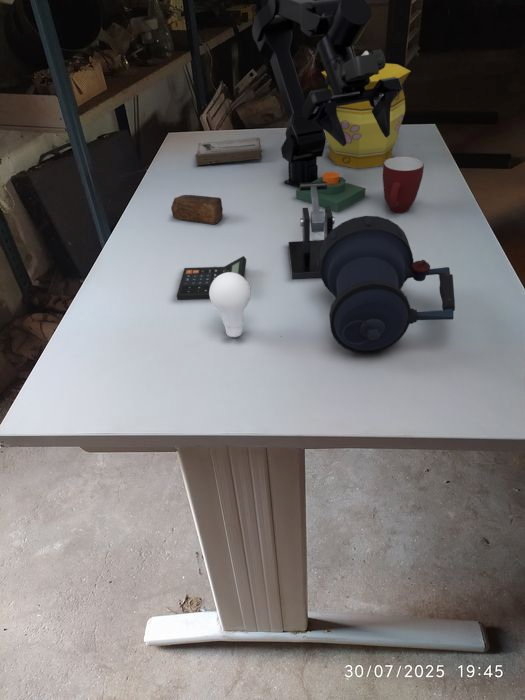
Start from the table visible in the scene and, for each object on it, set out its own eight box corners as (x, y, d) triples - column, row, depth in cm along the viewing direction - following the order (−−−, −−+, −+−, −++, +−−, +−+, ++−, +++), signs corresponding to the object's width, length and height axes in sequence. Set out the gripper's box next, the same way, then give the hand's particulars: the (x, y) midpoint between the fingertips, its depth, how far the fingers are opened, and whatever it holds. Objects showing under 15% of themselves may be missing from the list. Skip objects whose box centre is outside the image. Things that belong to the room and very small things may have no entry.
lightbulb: (214, 326, 87) (206, 266, 80) (252, 322, 87) (247, 262, 80) (215, 349, 82) (207, 288, 75) (255, 346, 82) (250, 284, 75)
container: (356, 179, 131) (362, 64, 115) (304, 156, 145) (303, 51, 129) (418, 158, 139) (432, 49, 123) (363, 138, 153) (369, 38, 138)
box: (262, 160, 142) (261, 148, 140) (196, 166, 142) (195, 154, 141) (261, 148, 150) (260, 136, 149) (199, 153, 151) (198, 142, 149)
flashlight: (316, 288, 93) (433, 283, 92) (323, 375, 78) (464, 371, 77) (316, 212, 83) (448, 205, 82) (325, 295, 68) (487, 288, 67)
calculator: (185, 271, 101) (182, 257, 99) (247, 270, 100) (246, 255, 98) (177, 299, 93) (174, 285, 91) (244, 298, 93) (243, 283, 91)
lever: (299, 189, 102) (299, 179, 100) (326, 187, 102) (326, 177, 100) (303, 232, 96) (304, 223, 94) (331, 231, 96) (332, 221, 94)
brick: (223, 217, 118) (221, 196, 115) (216, 225, 115) (213, 204, 112) (181, 212, 121) (177, 192, 118) (172, 219, 118) (169, 199, 115)
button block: (296, 198, 124) (295, 181, 121) (323, 184, 129) (324, 168, 127) (337, 212, 117) (338, 194, 114) (365, 197, 122) (366, 180, 120)
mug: (414, 224, 111) (420, 176, 104) (374, 220, 113) (378, 174, 107) (419, 203, 118) (425, 157, 112) (382, 200, 120) (386, 155, 114)
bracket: (288, 247, 106) (287, 199, 100) (339, 244, 106) (341, 196, 99) (292, 279, 97) (290, 229, 90) (347, 276, 96) (350, 225, 90)
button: (319, 183, 121) (319, 175, 120) (329, 178, 123) (329, 170, 122) (332, 187, 119) (332, 179, 118) (342, 181, 121) (342, 174, 120)
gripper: (308, 40, 91) (338, 125, 90) (402, 27, 96) (431, 107, 95) (289, 81, 102) (316, 158, 100) (375, 68, 107) (401, 140, 106)
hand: (366, 140), depth 100 cm, fingers open, 9 cm apart
